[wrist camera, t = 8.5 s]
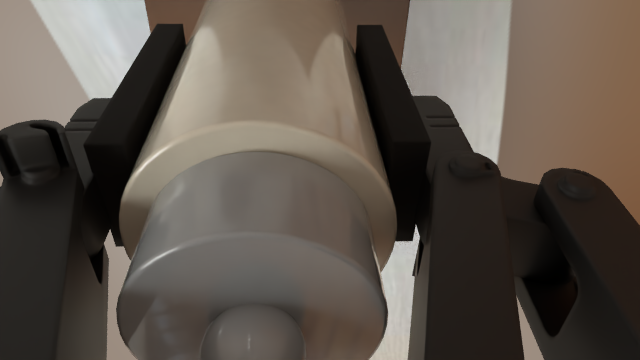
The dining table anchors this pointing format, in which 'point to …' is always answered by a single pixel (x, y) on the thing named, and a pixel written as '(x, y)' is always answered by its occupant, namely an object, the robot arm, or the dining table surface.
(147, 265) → the pepper mill
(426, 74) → the dining table surface
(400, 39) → the cabinet
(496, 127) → the dining table surface
